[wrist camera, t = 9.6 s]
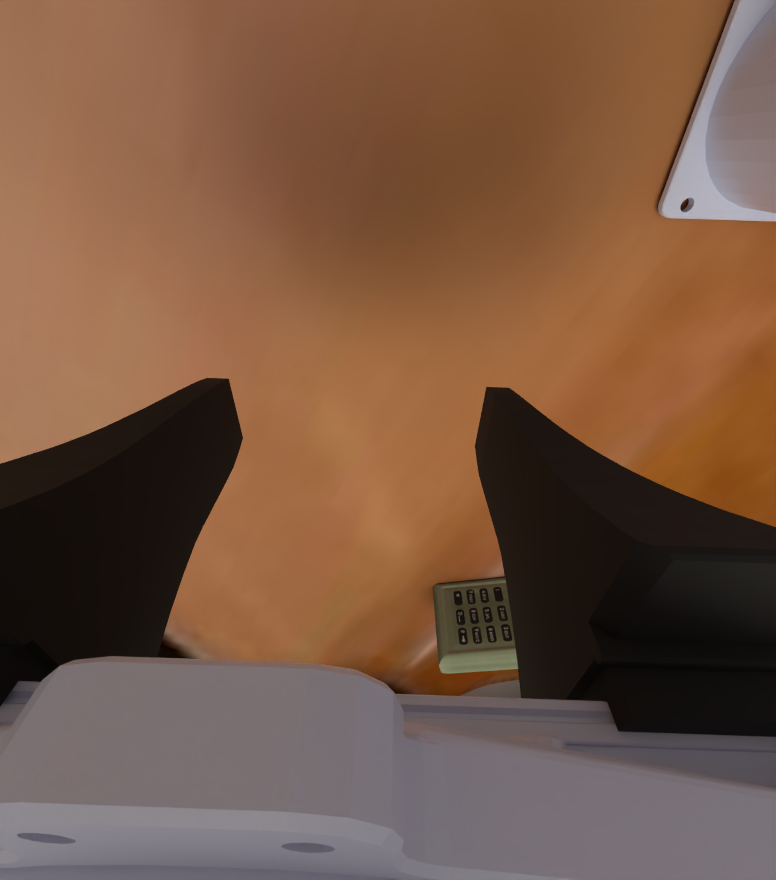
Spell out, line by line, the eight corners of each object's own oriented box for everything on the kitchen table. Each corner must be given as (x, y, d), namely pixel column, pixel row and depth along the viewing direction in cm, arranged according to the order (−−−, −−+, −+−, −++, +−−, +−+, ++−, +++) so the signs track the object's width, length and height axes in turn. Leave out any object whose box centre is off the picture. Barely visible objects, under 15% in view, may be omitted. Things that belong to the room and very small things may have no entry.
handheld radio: (431, 578, 34) (754, 544, 30) (436, 598, 36) (740, 568, 32) (437, 661, 29) (828, 632, 25) (442, 678, 31) (806, 654, 27)
